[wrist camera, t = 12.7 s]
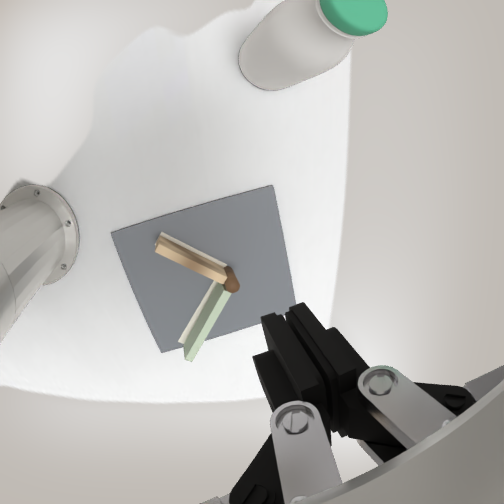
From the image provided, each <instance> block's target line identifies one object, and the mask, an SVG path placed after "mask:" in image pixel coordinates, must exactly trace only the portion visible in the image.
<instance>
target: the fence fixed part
mask: <svg viewBox="0 0 504 504" xmlns="http://www.w3.org/2000/svg"><path fill="white" fill-rule="evenodd" d="M155 252H156V253H158V254H160V255H162V256H164V257H166V258H168V259H170V260H173V261H175V262H177V263H179V264H181V265H183V266H185V267H187V268H189V269H191V270H193V271H195V272H197V273H200V274H202V275H204V276H206V277H208V278H210V279H212V280H214V281H217V282H219V283H221V284H225V287H226V289H227V291H228V292H230V293H235V292H237V291H238V290H239V289H240V284H239V282H238V280H237V277H236V275H235V273H234V271H233V269H232V268H231V267H229V266H226V267H224V268H223V266H221V265H218V264H216V263H214V262H212V261H210V260H208V259H206V258H204V257H202V256H200V255H198V254H196V253H194V252H192V251H190V250H188V249H186V248H184V247H182V246H180V245H178V244H176V243H174V242H172V241H170V240H168V239H166V238H164V237H162V236H159V238H158V240H157V242H156V247H155Z"/></svg>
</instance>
